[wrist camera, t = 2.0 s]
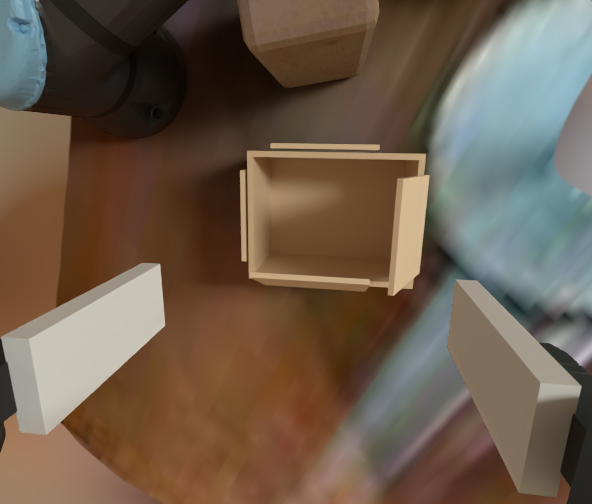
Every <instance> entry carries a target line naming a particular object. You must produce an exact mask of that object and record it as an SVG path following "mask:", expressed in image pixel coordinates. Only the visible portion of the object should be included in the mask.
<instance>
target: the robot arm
mask: <svg viewBox="0 0 592 504" xmlns="http://www.w3.org/2000/svg"><path fill="white" fill-rule="evenodd" d="M187 1H188V0H0V106H1V107H3V108H6V109H10V110H14V111H22V110H23V111H31V112H40V113H49V114H58V115H67V116H76V117H82V118H84V119H85V120H87V121H88V122H90V123H91V124H93V125H94V126H96V127H97V128H99V129H101V130H102V131H105V132H107V133H109V134H112V135H116V136H120V137H130V138H141V137H147V136H151V135H153V134H155V133H158V132H159V131H161V130H162V129H164V128H165V127H166V126H167V125H168V124H169V123H170V122H171V121H172V120H173V119H174V118H175V116H176V115H177V113H178V111H179V109H180V107H181V105H182V102H183V99H184V95H185V89H186V71H185V65H184V61H183V57H182V54H181V52H180V49H179V47H178V45H177V43H176V42H175V40H174V39H173V37H172V36H171V34H170V33H169V32H168V31H167V30H166V29H165V28H164V27H163V26H162V24H163V23H165V22H166V21H167V20H168V19H169V18H170V17H171V16H172V15H173V14H174V13H175V12H176V11H177V10H178V9H179V8H181V7H182V6H183V5H184V4H185V3H186V2H187ZM164 326H165V318H164V306H163V294H162V281H161V269H160V264H154V263H141V264H140V265H138V266H136V267H134V268H132V269H130V270H128V271H126V272H124V273H122V274H120V275H118V276H117V277H115V278H113V279H111V280H109V281H107V282H105V283H103V284H101V285H99V286H97V287H95V288H94V289H92V290H90V291H88V292H86V293H84V294H82V295H80V296H78V297H76V298H74V299H72V300H71V301H69V302H67V303H65V304H63V305H61V306H59V307H57V308H55V309H53V310H51V311H50V312H48V313H46V314H44V315H42V316H40V317H38V318H36V319H34V320H32V321H31V322H28V323H27V324H25V325H23V326H21V327H19V328H17V329H15V330H13V331H11V332H9V333H7V334H6V335H4V336H2V337H1V339H0V452H1V449H2V446H3V443H4V440H5V427H4V421H5V420H6V419H8V418H9V417H10V416H12V415H13V414H14V413H16V414H17V420H18V425H19V429H20V432H25V433H32V434H40V435H47V434H48V433H49V432H50V431H51V430H52V429H53V428H55V426H57V425H58V424H59V423H60V422H61V421H62V420H63V419H64V418H65V417H66V416H68V415H69V414H70V413H71V412H72V411H73V410H74V409H75V408H76V407H77V406H78V405H79V404H81V403H82V402H83V401H84V400H85V399H86V398H87V397H88V396H89V395H90V394H91V393H93V392H94V391H95V390H96V389H97V388H98V387H99V386H100V385H101V384H102V383H103V382H104V381H106V380H107V379H108V378H109V377H110V376H111V375H112V374H113V373H114V372H115V371H116V370H117V369H119V368H120V367H121V366H122V365H123V364H124V363H125V362H126V361H127V360H128V359H129V358H131V357H132V356H133V355H134V354H135V353H136V352H137V351H138V350H139V349H140V348H141V347H142V346H144V345H145V344H146V343H147V342H148V341H149V340H150V339H151V338H152V337H153V336H154V335H155V334H157V333H158V332H159V331H160V330H161V329H162V328H163V327H164ZM447 348H448V350H449V352H450V354H451V356H452V358H453V360H454V362H455V364H456V366H457V368H458V370H459V372H460V374H461V376H462V378H463V380H464V382H465V384H466V386H467V388H468V390H469V392H470V394H471V396H472V398H473V400H474V402H475V404H476V406H477V408H478V410H479V413H480V415H481V417H482V419H483V421H484V423H485V425H486V427H487V429H488V431H489V433H490V435H491V437H492V439H493V441H494V443H495V445H496V447H497V449H498V451H499V453H500V455H501V457H502V459H503V461H504V463H505V465H506V467H507V469H508V471H509V473H510V475H511V477H512V479H513V481H514V483H515V485H516V487H517V489H518V491H519V493H526V494H534V495H542V496H550V497H557V493H558V488H559V484H560V480H561V475H563V476H564V478H565V479H566V481H567V482H568V484H569V485H570V487H571V490H570V493H569V497H568V501H567V504H592V376H591V375H588V372H587V371H586V370H585V369H584V368H583V367H582V366H579V364H578V363H577V362H576V361H575V360H574V359H573V358H572V357H571V356H570V355H569V354H567V353H566V352H564V351H562V350H560V349H559V348H557V347H555V346H553V345H551V344H550V343H538V342H537V341H536V340H535V339H534V338H533V337H532V336H531V335H530V334H529V333H528V332H527V331H526V330H525V329H524V328H523V327H522V326H521V325H520V324H519V322H518V321H517V320H516V319H515V318H514V317H513V316H512V315H511V314H510V313H509V312H508V311H507V310H506V309H505V308H504V307H503V306H502V305H501V304H500V303H499V302H498V301H497V300H496V299H495V298H494V297H493V296H492V295H491V294H490V293H489V292H488V291H487V290H486V289H485V288H484V287H483V286H482V285H481V284H480V283H479V282H478V281H472V280H455V287H454V295H453V304H452V312H451V320H450V328H449V336H448V344H447Z"/></svg>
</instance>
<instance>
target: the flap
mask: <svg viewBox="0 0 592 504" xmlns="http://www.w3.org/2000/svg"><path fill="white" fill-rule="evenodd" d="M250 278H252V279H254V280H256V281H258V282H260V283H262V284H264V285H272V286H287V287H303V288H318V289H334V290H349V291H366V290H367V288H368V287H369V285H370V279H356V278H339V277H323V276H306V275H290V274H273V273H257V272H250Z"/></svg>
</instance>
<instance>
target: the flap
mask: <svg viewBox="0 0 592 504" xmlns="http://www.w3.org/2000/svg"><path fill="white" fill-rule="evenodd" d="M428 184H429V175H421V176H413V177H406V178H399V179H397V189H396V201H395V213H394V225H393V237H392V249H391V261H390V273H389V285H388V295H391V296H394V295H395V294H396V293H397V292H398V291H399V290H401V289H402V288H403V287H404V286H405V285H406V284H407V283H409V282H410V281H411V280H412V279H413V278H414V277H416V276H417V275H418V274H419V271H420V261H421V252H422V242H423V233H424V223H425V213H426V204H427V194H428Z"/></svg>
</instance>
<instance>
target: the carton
mask: <svg viewBox="0 0 592 504" xmlns="http://www.w3.org/2000/svg"><path fill="white" fill-rule="evenodd" d="M271 148H275V149H310V150H369V151H376V150H379V149H380V145H360V144H294V143H271ZM425 159H426V154H399V153H343V152H287V151H247V169H245V170H240V198H241V251H242V261H247V260H248V259H249V279H252V278H250V272H257V273H273V274H290V275H306V276H323V277H339V278H356V279H370V285H369V286H374V287H388V285H389V273H390V261H391V249H392V237H393V225H394V213H395V201H396V189H397V179H399V178H406V177H413V176H421V175H424V169H425ZM413 279H414V278H413ZM413 279H412V280H411V281H410V282H409V283H407V284H406V285H405V286H404V287H403V288H406V289H413Z"/></svg>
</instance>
